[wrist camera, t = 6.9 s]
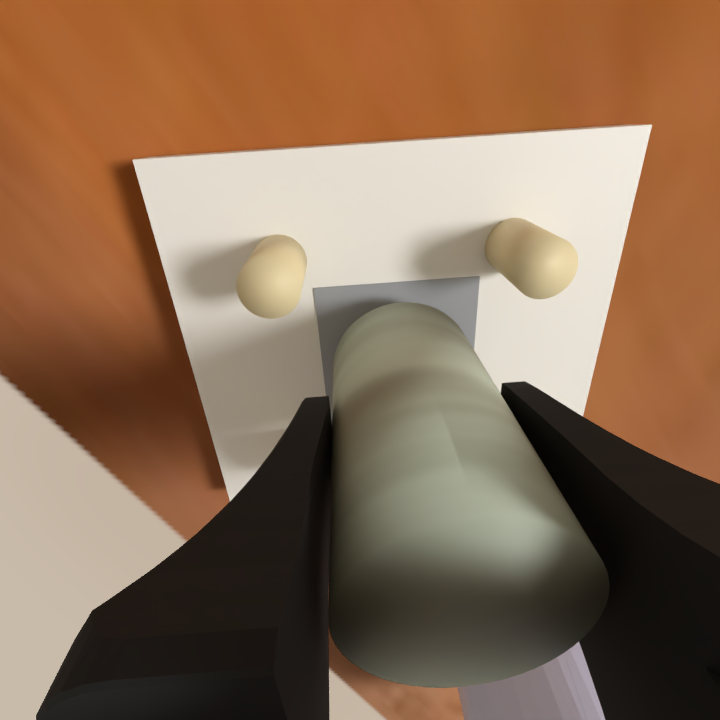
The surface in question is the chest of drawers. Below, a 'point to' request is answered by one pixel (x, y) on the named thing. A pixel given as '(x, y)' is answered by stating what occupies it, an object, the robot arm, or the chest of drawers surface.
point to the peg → (445, 515)
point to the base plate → (388, 260)
